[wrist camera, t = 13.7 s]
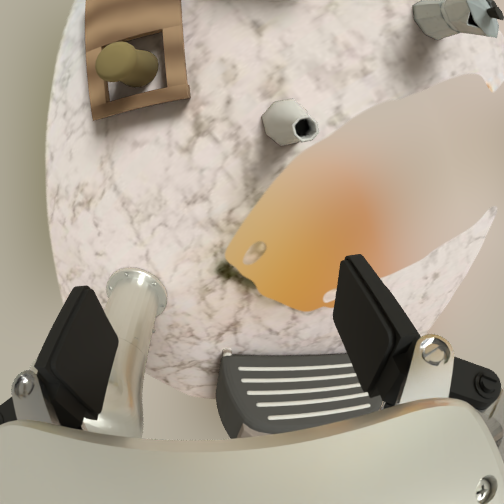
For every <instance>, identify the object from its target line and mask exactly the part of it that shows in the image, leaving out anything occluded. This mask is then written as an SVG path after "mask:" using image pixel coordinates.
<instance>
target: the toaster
mask: <svg viewBox="0 0 504 504" xmlns="http://www.w3.org/2000/svg"><path fill="white" fill-rule="evenodd" d="M231 353H232V350H231V349H230V348H225V349H224V350H223V358H222V359H221V365H220V371H219V377H218V383H217V389H216V402H217V408H218V412H219V415H220V418H221V421H222V424H223V426H224V428H225V430H226V431H227V433H228V435H229V436H230V438H231V439H236V438H247V437H257V436H265V435H273V434H280V433H286V432H292V431H298V430H303V429H308V428H313V427H318V426H322V425H326V424H331V423H335V422H339V421H343V420H347V419H351V418H355V417H358V416H362V415H365V414H369V413H372V412H375V411H378V410H381V408H382V407H381V405H382V398H381V396H380V395H379V396H376V397H373V398H370V397H369V395H368V392H364V391H363V390H362V388H361V386H360V383H359V380H358V378H357V376H356V373H355V371H354V368H353V366H352V363H351V361H350V358H349V356H348V354H332V355H309V356H247V355H232V354H231Z"/></svg>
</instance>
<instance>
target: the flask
mask: <svg viewBox="0 0 504 504" xmlns="http://www.w3.org/2000/svg"><path fill="white" fill-rule="evenodd" d="M262 119H263V123H264V128H265V132H266V134H267V135H268V136H269V137H270V138H272V139H273V140H274V141H275V142H276V143H278V144H279V145H280V146H283V145H287V144H292V143H297V142H299V141H301V142H306V141H311V140H313V139H314V138H315V137H316V136H317V134H318V133H319V129H318V124H317V122H316V121H315V120H314V119H313V118H312V117H311V116H310V115H308V112H307V110H306V109H305V108H304V107H302V106H301V105H300V104H299V103H298V102H297V101H296V100H294V99H287V100H281V101H276V102H274V103H273V104H272V105H271V106H270V107H269V108H268V109H267V110H266V112H265V113H264V114H263V115H262Z"/></svg>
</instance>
